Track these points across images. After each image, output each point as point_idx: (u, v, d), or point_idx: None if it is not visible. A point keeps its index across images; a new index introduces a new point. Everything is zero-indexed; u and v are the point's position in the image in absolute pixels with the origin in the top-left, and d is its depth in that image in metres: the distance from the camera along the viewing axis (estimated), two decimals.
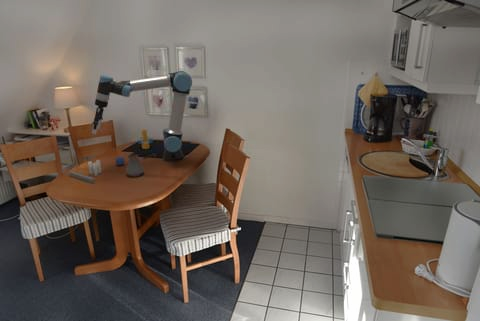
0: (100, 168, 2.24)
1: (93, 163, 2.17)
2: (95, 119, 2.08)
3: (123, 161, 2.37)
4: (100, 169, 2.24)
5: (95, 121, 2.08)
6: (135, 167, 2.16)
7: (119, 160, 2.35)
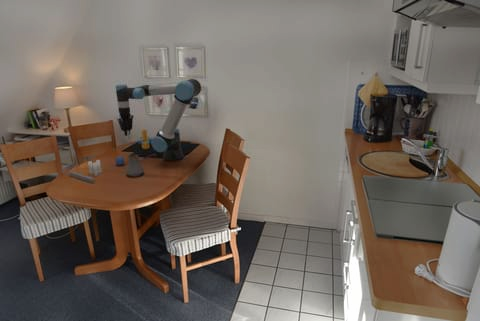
0: (100, 168, 2.24)
1: (93, 163, 2.17)
2: (121, 127, 2.34)
3: (123, 161, 2.37)
4: (100, 169, 2.24)
5: (121, 129, 2.35)
6: (135, 167, 2.16)
7: (119, 160, 2.35)
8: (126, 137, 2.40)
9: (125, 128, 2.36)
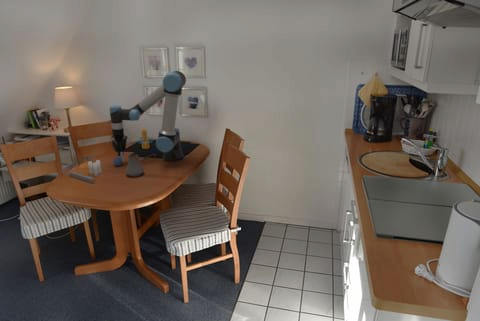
0: (100, 168, 2.24)
1: (93, 163, 2.17)
2: (114, 148, 2.34)
3: (121, 161, 2.36)
4: (100, 169, 2.24)
5: (115, 150, 2.35)
6: (135, 167, 2.16)
7: (117, 161, 2.34)
8: None
9: (118, 149, 2.35)
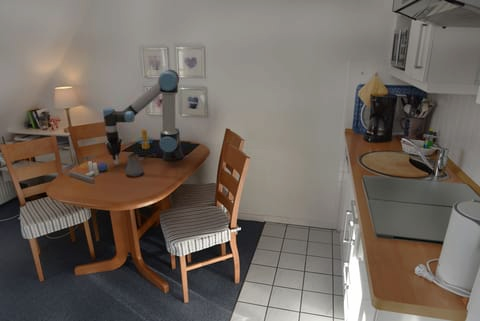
0: None
1: (93, 163, 2.17)
2: (109, 152, 2.29)
3: (104, 168, 2.26)
4: None
5: (110, 153, 2.30)
6: (135, 167, 2.16)
7: None
8: (114, 161, 2.35)
9: (113, 152, 2.31)
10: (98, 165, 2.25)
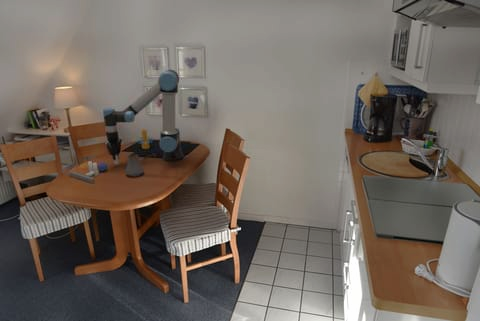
0: None
1: (93, 163, 2.17)
2: (109, 152, 2.29)
3: (104, 168, 2.26)
4: None
5: (110, 153, 2.30)
6: (135, 167, 2.16)
7: None
8: (114, 161, 2.35)
9: (113, 152, 2.31)
10: (98, 165, 2.25)
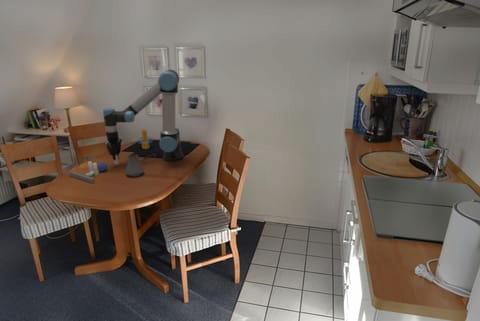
0: None
1: (93, 163, 2.17)
2: (109, 152, 2.29)
3: (104, 168, 2.26)
4: None
5: (110, 153, 2.30)
6: (135, 167, 2.16)
7: None
8: (114, 161, 2.35)
9: (113, 152, 2.31)
10: (98, 165, 2.25)
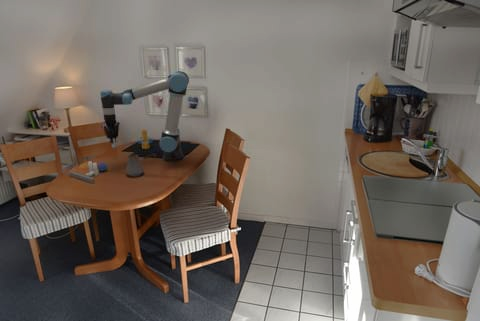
0: None
1: (93, 163, 2.17)
2: (106, 135, 2.25)
3: (104, 168, 2.26)
4: None
5: (107, 136, 2.26)
6: (135, 167, 2.16)
7: None
8: (112, 145, 2.31)
9: (111, 136, 2.27)
10: (98, 165, 2.25)
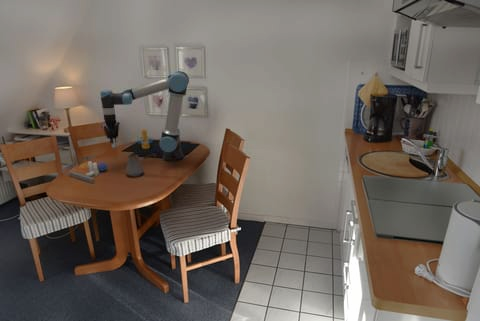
0: None
1: (93, 163, 2.17)
2: (106, 135, 2.25)
3: (104, 168, 2.26)
4: None
5: (107, 136, 2.26)
6: (135, 167, 2.16)
7: None
8: (112, 145, 2.31)
9: (111, 135, 2.27)
10: (98, 165, 2.25)
